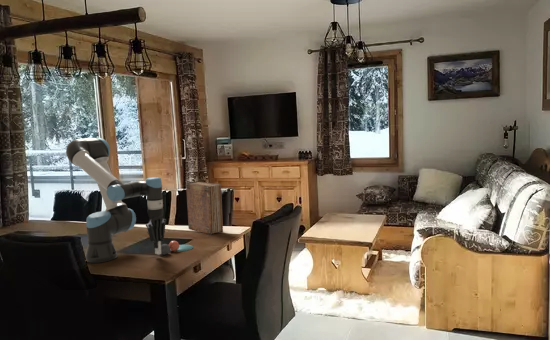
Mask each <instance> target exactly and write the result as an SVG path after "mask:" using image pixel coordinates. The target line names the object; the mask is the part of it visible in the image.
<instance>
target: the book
mask: <svg viewBox="0 0 550 340" xmlns="http://www.w3.org/2000/svg"><path fill="white" fill-rule="evenodd" d="M185 188H186V189H185V190H186V206H187V207H186V208H187V220H188V221H187V222H188V223H187V224H188V226H187V227H188V229H189V230H193V231H195V232H200V233H202V234H206V235H209V236H212V235H213V234H216V233H223V232H224V224H223V223H224V222H223V201H222V200H223V199H222V184H221V183H215V182H214V183H213V182H207V181H190V182H186V183H185Z"/></svg>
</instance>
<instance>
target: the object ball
mask: <svg viewBox="0 0 550 340" xmlns="http://www.w3.org/2000/svg"><path fill="white" fill-rule="evenodd" d="M168 245H169V246H170V250H171V251H170V252H174V251H176V250H178V248H179V245H180V244H179V242H178V241H177V240H171V241H170V242H169V244H168Z"/></svg>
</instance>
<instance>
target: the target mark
mask: <svg viewBox="0 0 550 340" xmlns="http://www.w3.org/2000/svg"><path fill="white" fill-rule="evenodd" d="M193 248H194V246H193V245H191V244H179V248H178V250H176V251H173V252H175V253H176V252H187V251H190V250H192V249H193ZM170 252H172V251H171V250H170Z"/></svg>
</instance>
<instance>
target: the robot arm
mask: <svg viewBox="0 0 550 340" xmlns="http://www.w3.org/2000/svg"><path fill="white" fill-rule="evenodd" d="M65 150H66V152H65V154H66V157H67V159H68V161H69V162H70V164H72V165H73V166H74V167H79V168H80V169H81V170H83V171H84V172H85V174H87V175H88V176H90V178H92V180H94V181H95V182H96V183H97V186H98V190H99V192H100V194H101V198H102V200H103V202H104V203H103V204H104V206H105V210H102V211H96V212H93V213H91V214H89V215H88V216H87V217H86V219H85V220H86V222H85V223H86V225H85V227H86V235H87V248H86V251H85V256H86V260H87V263H91V264H92V263H94V264H98V263H104V262H109V261H113V260H115V259H116V258H118V253H117V249H116V248H115V246H114V243H113V236H114V235H118V234H121V233H126V232H128V231H130V230H132V229H134V227H135V226H136V225H135V224H136V222H137V217H136V216H137V215H136V213H135V212H134V210H133V209H131V208H128V205H127V204H126V203H125V202H123V201H122V200H125V199H130V198H136V197H146V200H147V214H148V215H147V216H148V217H149V220H148V223H146V224H145V227H146V230H147V229H148V235H149V236H148V237H149V241H150V242H153V247H154V254H155V255H159V256H160V255H162V254H161V245H162V242H163V239H165V233H166V232H165V231H166V224H167V222H168V221H167V219H166V218H164V217H163V216H164V213H165V212H164V208H163V207H164V204H163V203H164V201H163V200H164V199H163V184H162V183H163V182H162V178H161V177H157V176H156V177H155V176H154V177H152V176H151V177H147V178H146V179H145V180H131V181H129V182H125V183H123V182H121V180H119V179H118V178H117V177H115V175H113V173H112V171H111V169H110V166H109V163H108V161H109V159H110V155H111V147H110V145H109V143H108V141H106V139H104V138H101V137H91V138H90V137H88V138H86V137H85V138H76V139H73V140H72V141H70V142H69V143H68V145H67V146H66V149H65ZM85 256H84V257H85ZM86 260H85V261H86Z"/></svg>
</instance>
